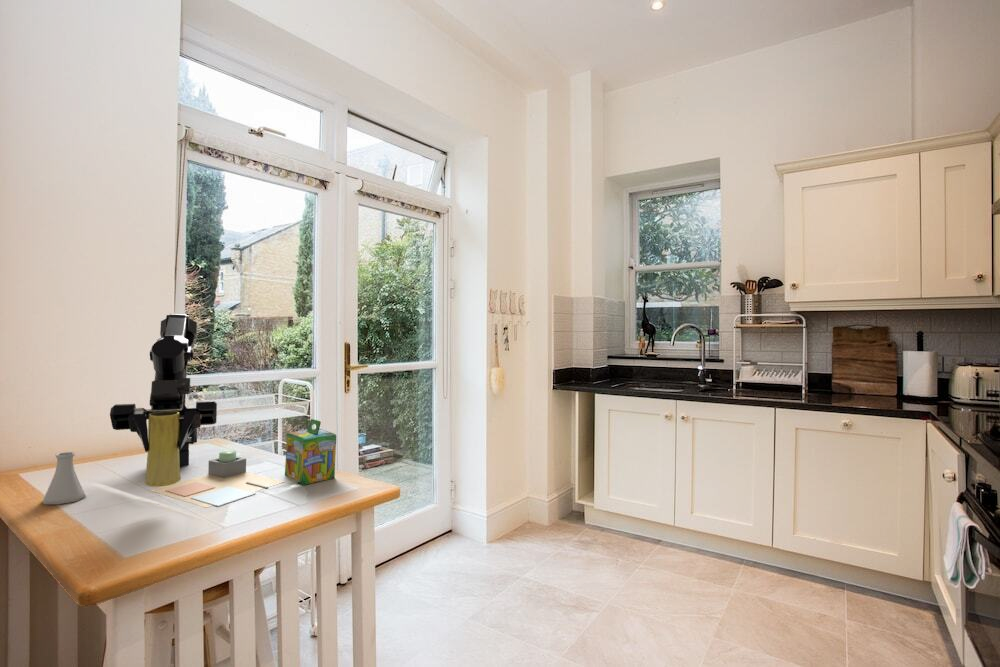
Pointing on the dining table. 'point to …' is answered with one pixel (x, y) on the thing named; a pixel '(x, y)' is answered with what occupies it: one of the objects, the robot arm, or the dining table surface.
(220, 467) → the button housing
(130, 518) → the dining table surface
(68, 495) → the flask
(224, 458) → the button
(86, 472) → the dining table surface
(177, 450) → the vase
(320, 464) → the chalk box
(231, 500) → the picture board
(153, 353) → the robot arm
